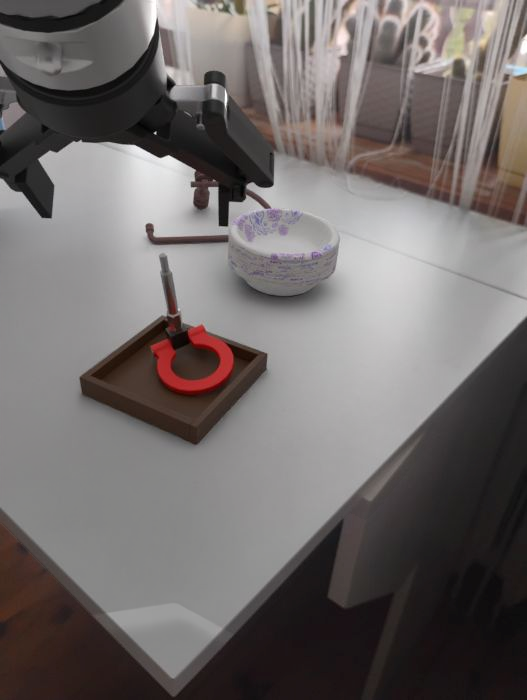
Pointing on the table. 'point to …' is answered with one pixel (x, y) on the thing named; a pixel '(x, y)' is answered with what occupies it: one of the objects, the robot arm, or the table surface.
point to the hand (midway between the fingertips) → (136, 206)
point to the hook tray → (158, 400)
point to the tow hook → (182, 337)
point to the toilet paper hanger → (201, 203)
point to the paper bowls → (282, 250)
